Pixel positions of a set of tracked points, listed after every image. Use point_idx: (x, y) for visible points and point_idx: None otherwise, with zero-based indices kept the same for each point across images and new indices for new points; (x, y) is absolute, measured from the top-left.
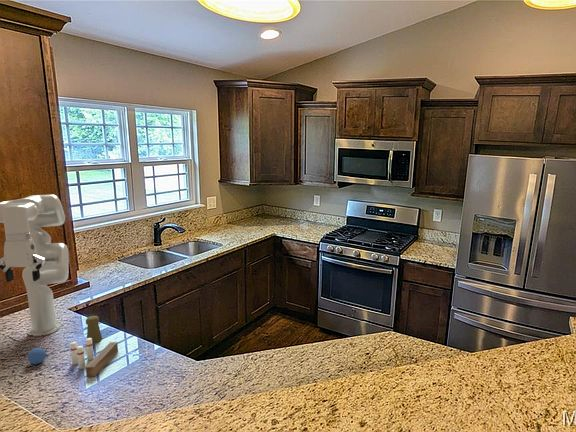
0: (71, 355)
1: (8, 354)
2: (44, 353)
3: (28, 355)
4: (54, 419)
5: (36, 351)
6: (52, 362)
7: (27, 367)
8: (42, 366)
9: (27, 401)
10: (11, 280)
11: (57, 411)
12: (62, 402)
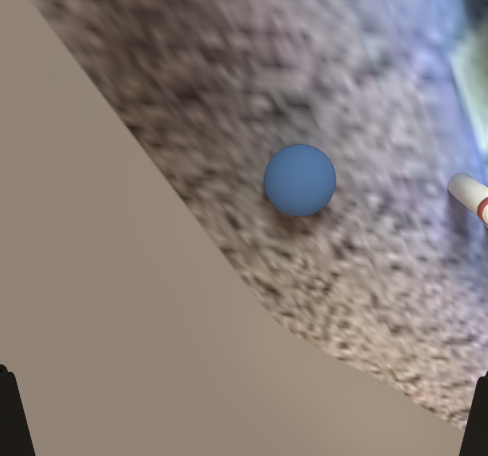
0: (466, 205)
1: (112, 84)
2: (335, 182)
3: (277, 207)
4: None
5: (312, 206)
6: (358, 171)
7: None
8: None
9: (378, 373)
10: (25, 422)
11: None
12: None
